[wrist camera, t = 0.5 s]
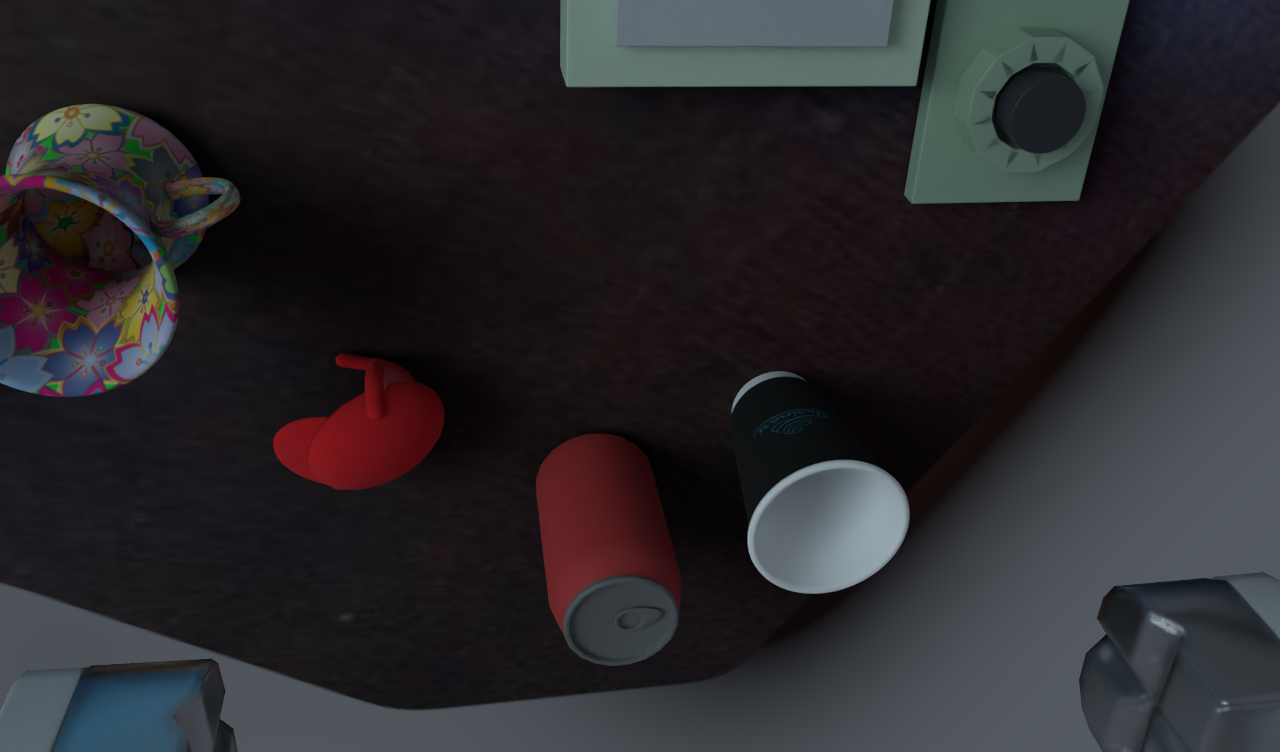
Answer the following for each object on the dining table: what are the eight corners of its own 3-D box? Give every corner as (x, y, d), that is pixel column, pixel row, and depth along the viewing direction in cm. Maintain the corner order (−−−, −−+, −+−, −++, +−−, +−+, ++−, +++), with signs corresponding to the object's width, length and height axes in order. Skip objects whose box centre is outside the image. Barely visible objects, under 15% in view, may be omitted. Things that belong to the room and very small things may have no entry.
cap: (424, 327, 58) (423, 388, 53) (456, 422, 61) (458, 488, 56) (269, 364, 58) (253, 429, 53) (310, 457, 61) (298, 528, 56)
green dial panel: (941, -30, 53) (966, -16, 50) (1122, -28, 54) (1156, -14, 51) (903, 195, 58) (924, 218, 56) (1068, 192, 60) (1096, 214, 57)
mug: (81, 308, 55) (11, 430, 46) (-43, 134, 50) (-149, 233, 41) (312, 217, 54) (286, 324, 45) (209, 32, 49) (158, 110, 40)
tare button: (1003, 66, 53) (1019, 77, 51) (1076, 66, 53) (1094, 77, 52) (988, 141, 55) (1003, 154, 53) (1059, 141, 55) (1076, 153, 54)
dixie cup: (775, 488, 67) (829, 618, 57) (674, 423, 63) (714, 549, 54) (871, 393, 64) (943, 513, 55) (771, 320, 61) (830, 434, 52)
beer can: (658, 509, 66) (697, 659, 56) (546, 532, 66) (565, 687, 56) (643, 416, 63) (681, 557, 53) (524, 439, 63) (540, 586, 52)
